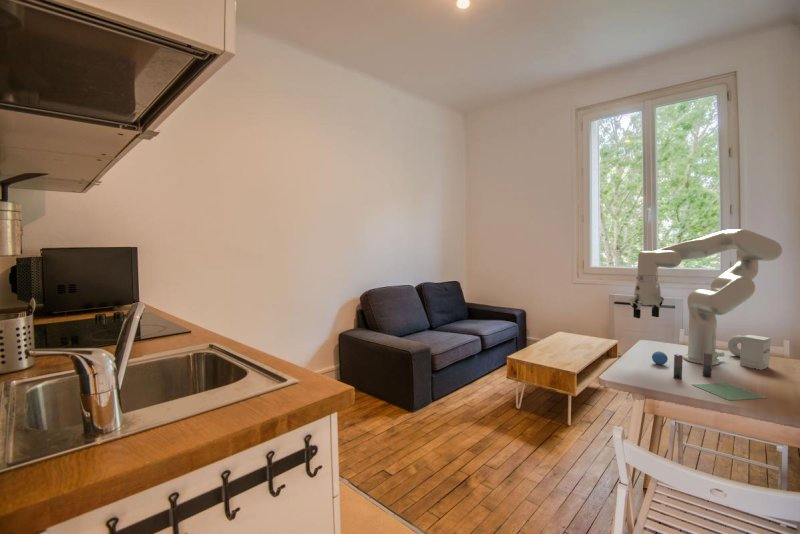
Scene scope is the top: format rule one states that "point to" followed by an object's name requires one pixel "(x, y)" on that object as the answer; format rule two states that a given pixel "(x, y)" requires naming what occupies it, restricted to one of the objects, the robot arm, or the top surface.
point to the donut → (734, 345)
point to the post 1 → (678, 366)
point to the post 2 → (707, 365)
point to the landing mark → (728, 391)
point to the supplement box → (755, 351)
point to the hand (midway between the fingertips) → (646, 317)
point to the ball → (659, 358)
